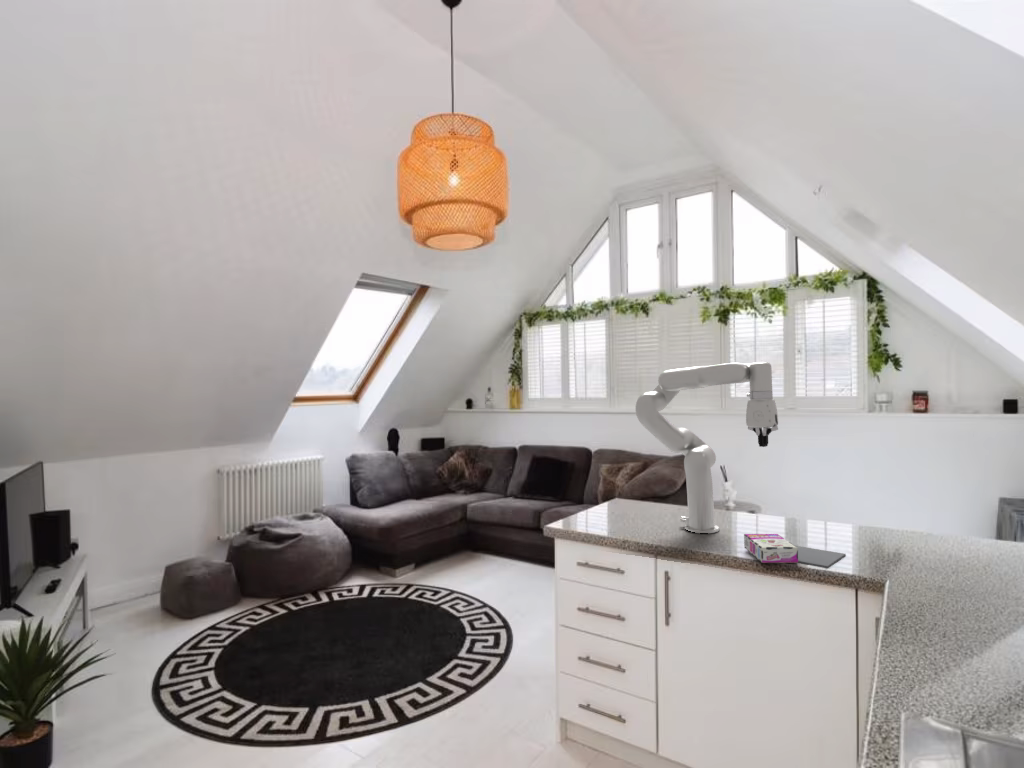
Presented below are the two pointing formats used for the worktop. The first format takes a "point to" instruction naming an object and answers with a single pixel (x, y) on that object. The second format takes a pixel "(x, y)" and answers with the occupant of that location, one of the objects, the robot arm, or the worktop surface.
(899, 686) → the worktop surface
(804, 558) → the mat
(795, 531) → the worktop surface
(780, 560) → the candy bar box
